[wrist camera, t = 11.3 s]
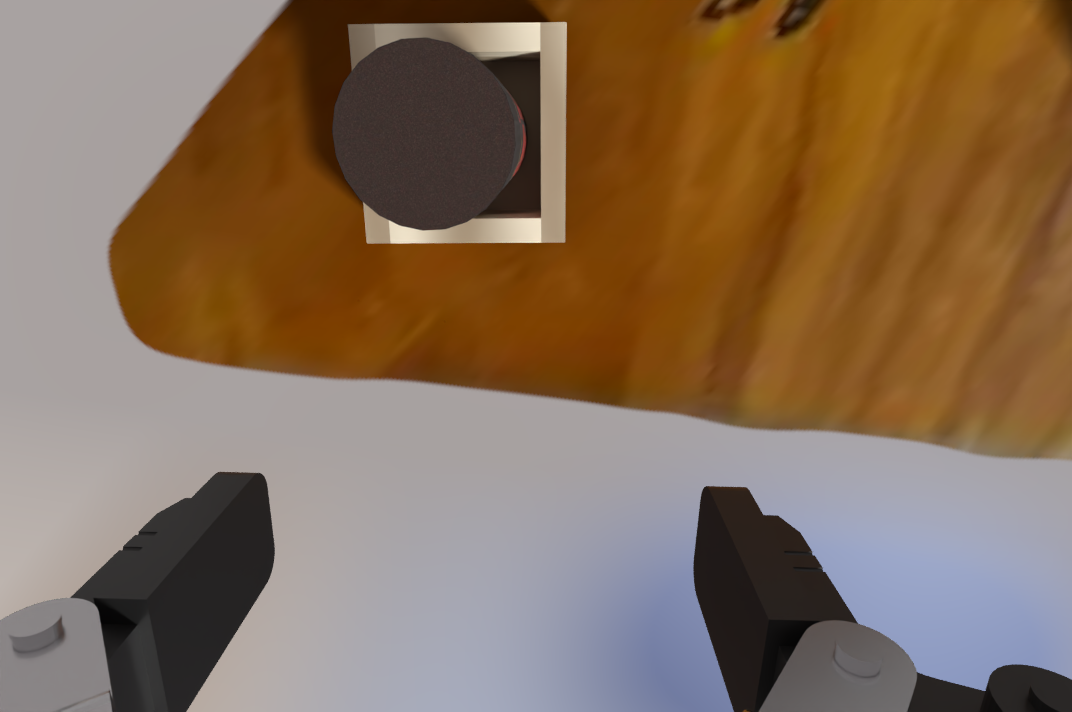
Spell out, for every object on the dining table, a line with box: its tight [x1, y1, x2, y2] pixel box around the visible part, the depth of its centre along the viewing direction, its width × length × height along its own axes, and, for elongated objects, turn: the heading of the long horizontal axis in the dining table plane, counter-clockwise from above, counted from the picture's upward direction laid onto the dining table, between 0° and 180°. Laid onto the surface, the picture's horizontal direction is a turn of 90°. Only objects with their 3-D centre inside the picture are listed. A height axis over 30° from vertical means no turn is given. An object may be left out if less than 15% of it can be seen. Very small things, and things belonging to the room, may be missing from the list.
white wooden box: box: [348, 22, 567, 243], centre depth 34 cm, size 10×10×5 cm
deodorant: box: [332, 37, 528, 231], centre depth 29 cm, size 6×6×15 cm
